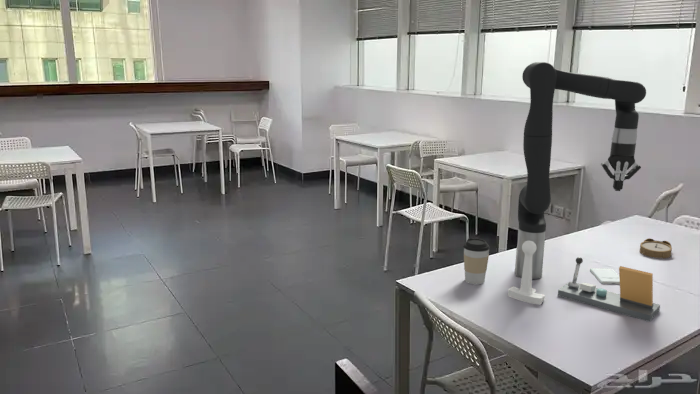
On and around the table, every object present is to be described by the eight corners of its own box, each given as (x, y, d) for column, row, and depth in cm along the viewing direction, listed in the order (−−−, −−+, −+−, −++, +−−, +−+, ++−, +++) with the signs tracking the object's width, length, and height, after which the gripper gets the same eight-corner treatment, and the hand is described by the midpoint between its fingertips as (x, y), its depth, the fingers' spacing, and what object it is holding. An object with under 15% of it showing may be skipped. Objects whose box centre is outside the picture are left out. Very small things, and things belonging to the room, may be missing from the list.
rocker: (579, 289, 181) (580, 283, 181) (584, 287, 184) (584, 282, 184) (590, 292, 178) (591, 286, 178) (595, 290, 182) (596, 285, 181)
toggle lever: (567, 286, 184) (574, 256, 184) (569, 286, 186) (576, 256, 186) (576, 288, 182) (583, 258, 182) (578, 289, 184) (585, 258, 184)
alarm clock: (638, 248, 220) (644, 233, 232) (636, 259, 222) (643, 243, 233) (670, 254, 214) (674, 237, 225) (668, 265, 216) (673, 248, 227)
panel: (557, 295, 183) (558, 289, 183) (569, 286, 190) (570, 281, 190) (649, 321, 165) (650, 315, 164) (659, 310, 172) (660, 304, 171)
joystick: (506, 296, 182) (510, 239, 178) (516, 289, 188) (520, 233, 183) (539, 306, 175) (544, 246, 171) (548, 298, 181) (553, 240, 176)
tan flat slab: (619, 301, 174) (618, 268, 167) (621, 298, 175) (620, 265, 168) (651, 310, 168) (651, 276, 161) (653, 306, 169) (653, 272, 162)
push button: (594, 294, 178) (595, 290, 178) (598, 292, 180) (598, 287, 180) (604, 297, 176) (604, 292, 176) (607, 294, 178) (608, 290, 178)
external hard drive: (612, 272, 204) (625, 285, 192) (589, 272, 205) (601, 285, 193) (613, 268, 204) (626, 281, 192) (590, 268, 205) (601, 280, 193)
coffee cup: (492, 280, 196) (495, 240, 193) (479, 287, 190) (481, 246, 186) (470, 274, 202) (472, 234, 199) (456, 281, 196) (458, 240, 192)
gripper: (605, 141, 187) (599, 191, 191) (648, 143, 184) (640, 194, 188) (600, 139, 194) (595, 187, 198) (641, 140, 191) (634, 189, 195)
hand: (617, 190), depth 193 cm, fingers closed
